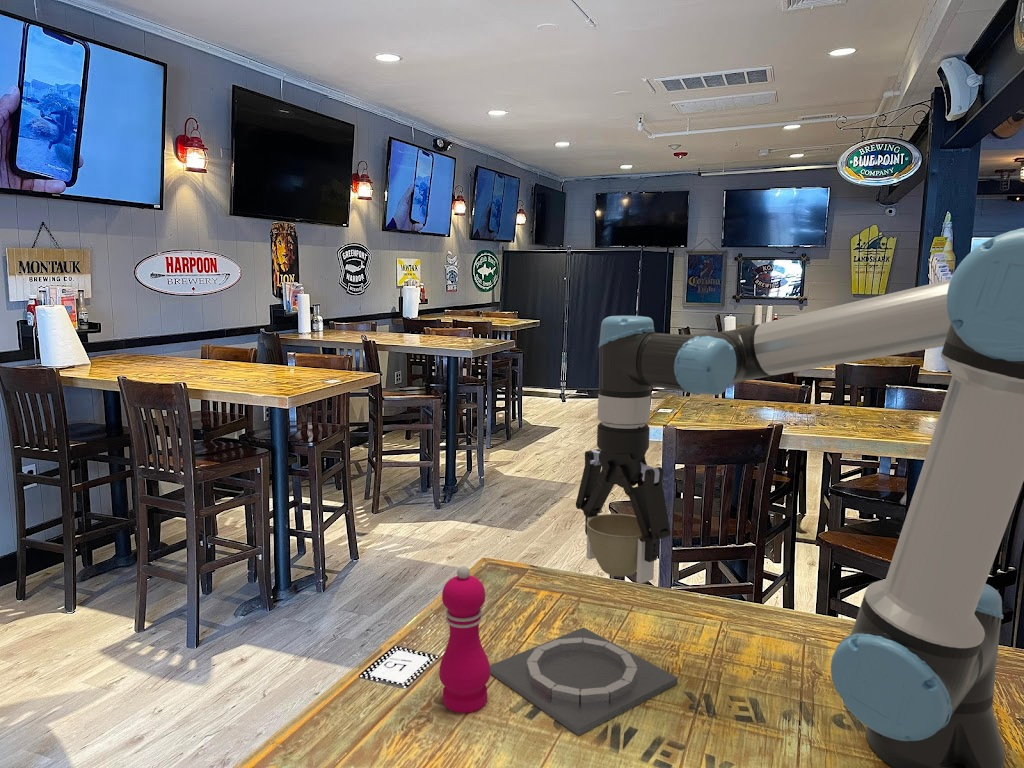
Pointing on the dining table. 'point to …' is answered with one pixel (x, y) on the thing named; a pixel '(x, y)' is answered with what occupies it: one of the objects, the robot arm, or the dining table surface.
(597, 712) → the ring plate
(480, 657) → the pepper mill
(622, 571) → the flower pot
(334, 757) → the dining table surface
